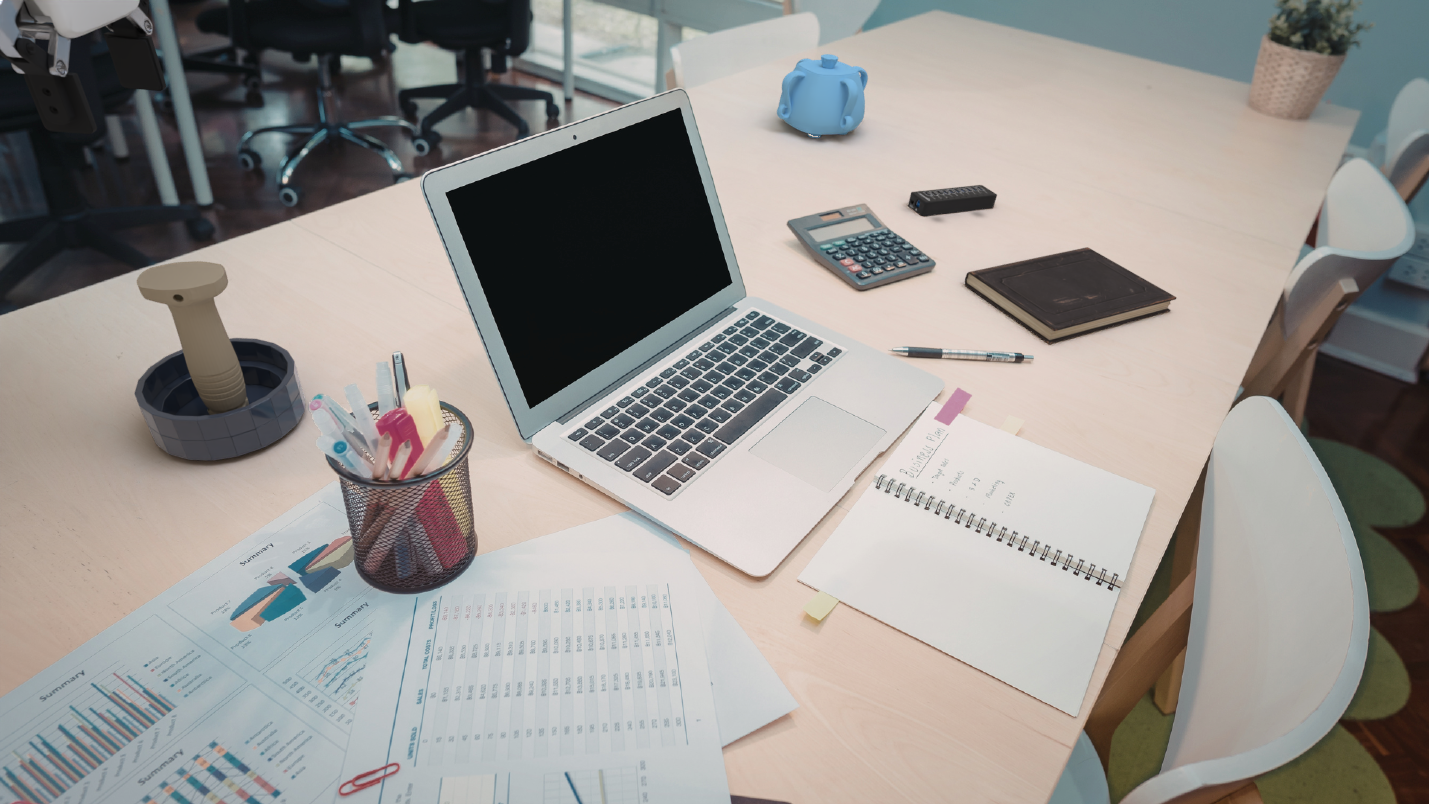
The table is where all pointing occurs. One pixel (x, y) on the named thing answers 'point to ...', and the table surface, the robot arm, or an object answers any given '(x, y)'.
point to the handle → (199, 328)
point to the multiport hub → (952, 200)
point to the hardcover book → (1068, 294)
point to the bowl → (231, 434)
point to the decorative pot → (823, 96)
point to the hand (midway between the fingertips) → (110, 108)
